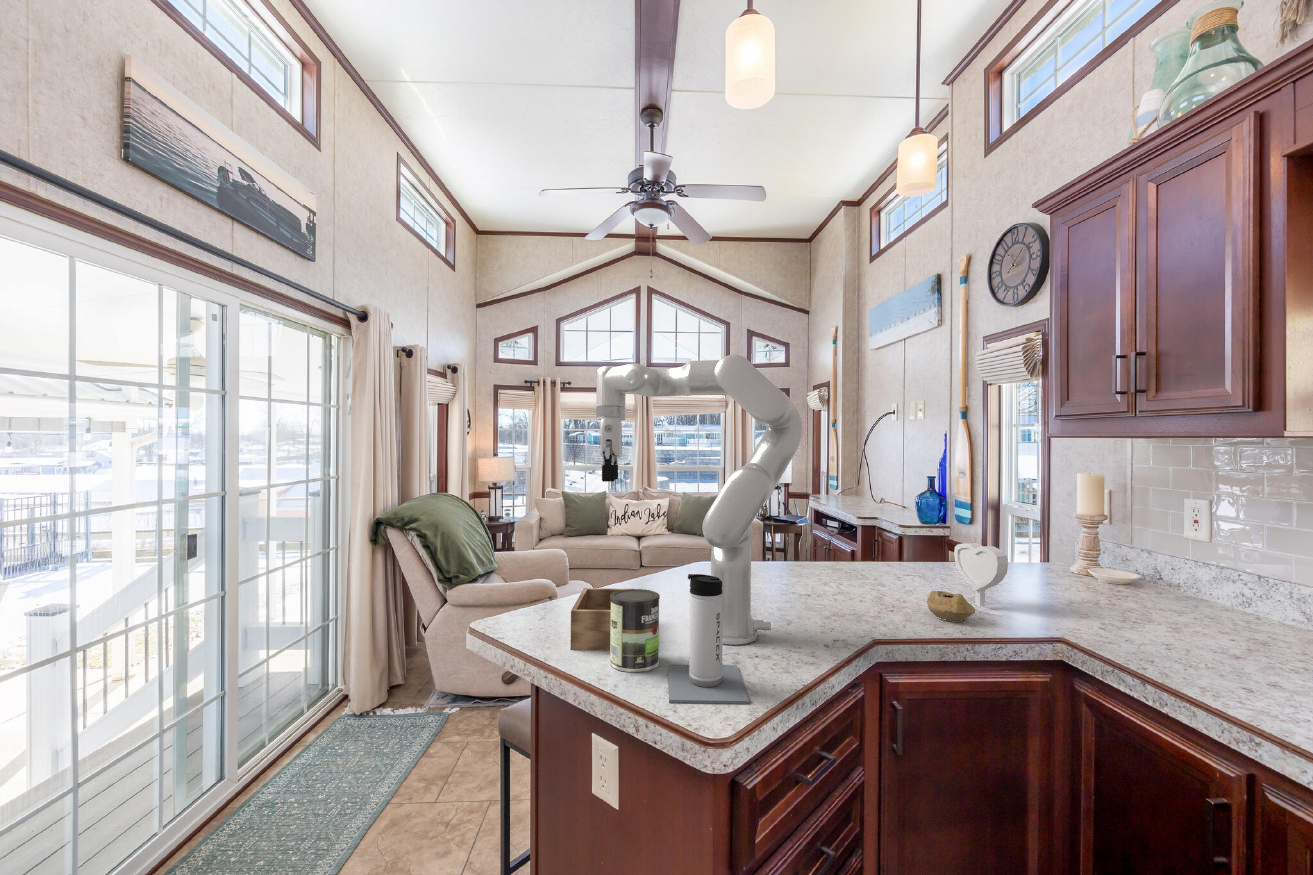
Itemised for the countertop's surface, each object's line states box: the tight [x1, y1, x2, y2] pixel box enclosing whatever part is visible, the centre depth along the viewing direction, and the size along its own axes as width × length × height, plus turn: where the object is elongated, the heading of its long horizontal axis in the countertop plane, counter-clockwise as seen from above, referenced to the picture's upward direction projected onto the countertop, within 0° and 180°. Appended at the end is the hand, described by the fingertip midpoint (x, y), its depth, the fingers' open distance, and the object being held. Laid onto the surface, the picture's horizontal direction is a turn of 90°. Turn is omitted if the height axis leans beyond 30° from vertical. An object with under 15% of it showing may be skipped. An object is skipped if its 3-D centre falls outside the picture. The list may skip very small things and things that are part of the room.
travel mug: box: [687, 573, 723, 687], centre depth 105 cm, size 6×7×20 cm
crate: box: [569, 587, 627, 651], centre depth 132 cm, size 13×20×8 cm, turn 179°
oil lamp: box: [926, 590, 976, 622], centre depth 148 cm, size 11×15×8 cm
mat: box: [667, 663, 750, 705], centre depth 105 cm, size 14×16×1 cm
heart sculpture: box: [953, 542, 1009, 608], centre depth 157 cm, size 16×5×18 cm, turn 13°
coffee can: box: [609, 588, 661, 673], centre depth 115 cm, size 10×10×14 cm
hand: (610, 480), depth 143 cm, fingers open, 9 cm apart
